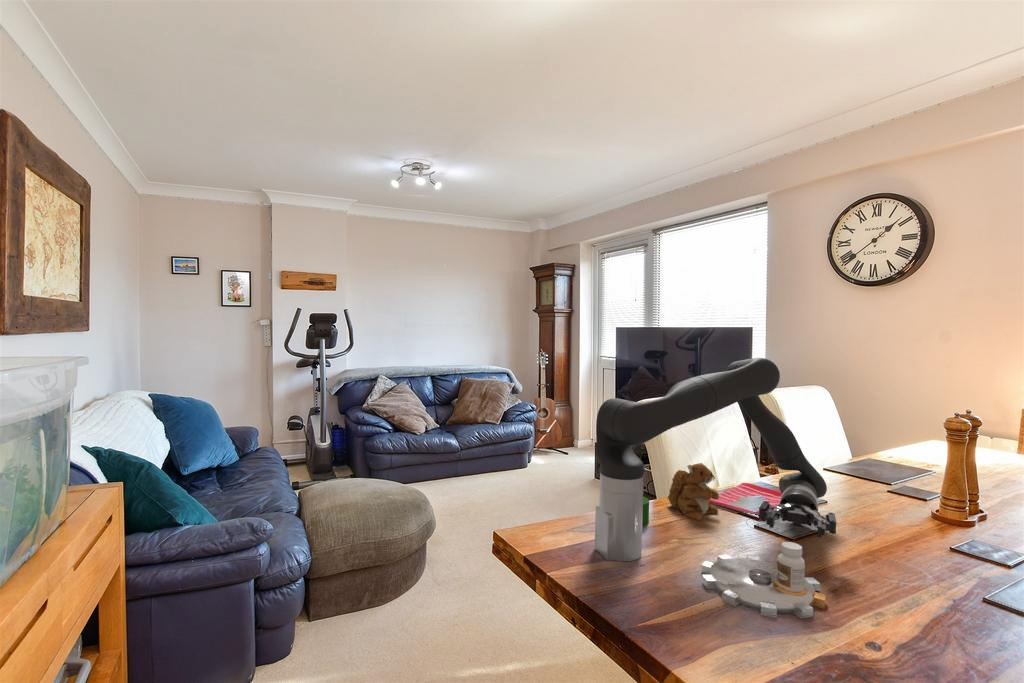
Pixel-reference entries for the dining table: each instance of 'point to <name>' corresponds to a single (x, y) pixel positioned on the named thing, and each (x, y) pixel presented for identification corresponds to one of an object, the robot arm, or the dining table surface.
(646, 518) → the candle
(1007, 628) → the dining table surface
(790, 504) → the robot arm
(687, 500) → the stuffed squirrel
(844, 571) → the dining table surface
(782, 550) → the pill bottle
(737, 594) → the sprocket plate
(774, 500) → the dish towel
